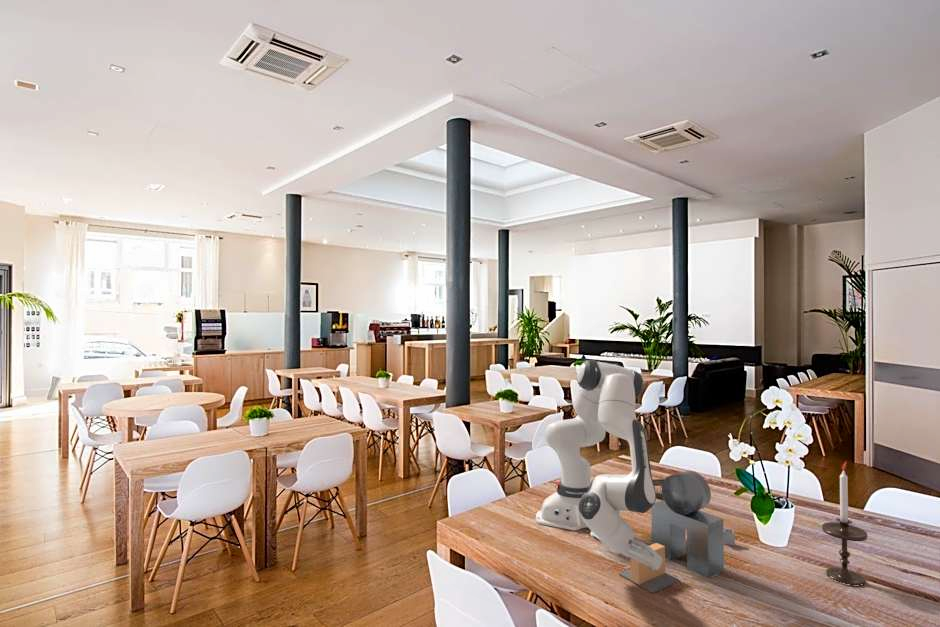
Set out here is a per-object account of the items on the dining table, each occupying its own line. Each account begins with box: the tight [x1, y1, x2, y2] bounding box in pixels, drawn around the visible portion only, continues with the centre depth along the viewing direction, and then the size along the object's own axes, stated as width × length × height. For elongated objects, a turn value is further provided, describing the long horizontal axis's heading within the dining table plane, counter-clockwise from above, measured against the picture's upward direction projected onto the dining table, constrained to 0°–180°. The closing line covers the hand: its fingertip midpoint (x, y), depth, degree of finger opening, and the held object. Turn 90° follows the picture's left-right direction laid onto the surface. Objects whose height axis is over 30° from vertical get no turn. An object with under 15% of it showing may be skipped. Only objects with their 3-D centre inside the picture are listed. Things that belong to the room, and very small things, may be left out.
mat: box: [618, 568, 680, 593], centre depth 152 cm, size 12×12×1 cm
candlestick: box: [821, 461, 868, 585], centre depth 151 cm, size 11×11×35 cm
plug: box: [629, 543, 666, 585], centre depth 152 cm, size 12×3×8 cm, turn 123°
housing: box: [651, 470, 725, 579], centre depth 162 cm, size 8×20×28 cm, turn 33°
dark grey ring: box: [652, 478, 665, 499], centre depth 225 cm, size 21×21×3 cm
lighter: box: [723, 527, 736, 547], centre depth 175 cm, size 7×2×8 cm, turn 72°
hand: (640, 560), depth 150 cm, fingers open, 8 cm apart
